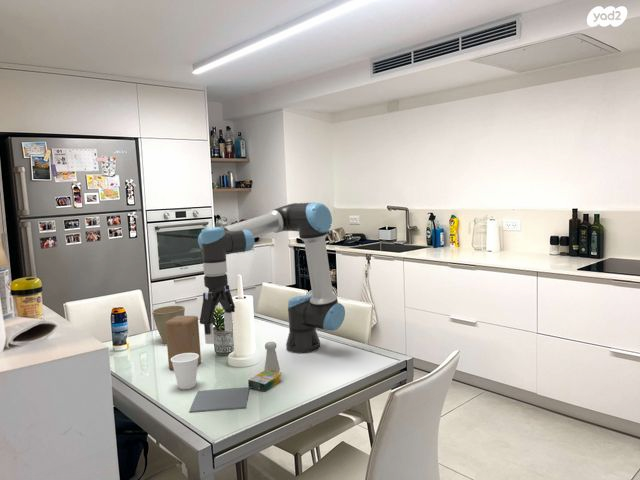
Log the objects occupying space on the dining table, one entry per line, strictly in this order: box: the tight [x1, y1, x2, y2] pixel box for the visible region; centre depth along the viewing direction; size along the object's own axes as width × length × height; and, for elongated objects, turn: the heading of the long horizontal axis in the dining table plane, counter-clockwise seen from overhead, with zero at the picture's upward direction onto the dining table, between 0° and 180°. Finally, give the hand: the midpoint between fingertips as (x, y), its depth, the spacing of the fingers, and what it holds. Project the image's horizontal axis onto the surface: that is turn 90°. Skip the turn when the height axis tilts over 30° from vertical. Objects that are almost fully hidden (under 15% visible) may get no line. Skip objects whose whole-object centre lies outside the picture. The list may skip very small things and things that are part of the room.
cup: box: [171, 353, 199, 390], centre depth 175 cm, size 10×10×11 cm
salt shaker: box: [263, 341, 281, 373], centre depth 181 cm, size 6×6×13 cm
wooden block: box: [166, 315, 202, 370], centre depth 196 cm, size 10×10×20 cm
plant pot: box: [151, 305, 185, 345], centre depth 231 cm, size 15×15×16 cm
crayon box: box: [247, 370, 283, 392], centre depth 174 cm, size 7×3×12 cm
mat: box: [188, 386, 250, 413], centre depth 162 cm, size 18×16×1 cm
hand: (219, 337), depth 160 cm, fingers open, 13 cm apart
